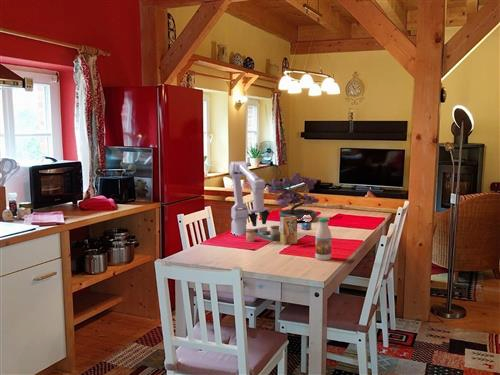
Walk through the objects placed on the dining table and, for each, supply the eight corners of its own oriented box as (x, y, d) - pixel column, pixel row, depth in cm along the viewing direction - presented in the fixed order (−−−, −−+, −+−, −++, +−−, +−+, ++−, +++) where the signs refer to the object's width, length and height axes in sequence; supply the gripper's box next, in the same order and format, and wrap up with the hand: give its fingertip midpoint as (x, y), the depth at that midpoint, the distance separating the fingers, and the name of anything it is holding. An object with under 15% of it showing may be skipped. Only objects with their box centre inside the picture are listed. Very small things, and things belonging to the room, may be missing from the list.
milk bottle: (313, 256, 241) (313, 217, 238) (329, 256, 241) (329, 216, 239) (317, 260, 233) (317, 220, 231) (333, 260, 234) (333, 219, 231)
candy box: (293, 242, 270) (293, 215, 268) (297, 244, 266) (297, 217, 264) (279, 244, 266) (279, 217, 264) (283, 246, 262) (283, 218, 260)
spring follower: (255, 234, 288) (255, 227, 287) (263, 233, 291) (263, 225, 291) (259, 235, 284) (259, 228, 284) (267, 234, 288) (267, 226, 287)
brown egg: (268, 238, 278) (268, 226, 277) (275, 237, 281) (275, 225, 280) (274, 239, 274) (274, 227, 273) (281, 238, 277) (281, 226, 276)
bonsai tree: (320, 216, 345) (321, 171, 341) (315, 224, 319) (315, 175, 315) (273, 215, 355) (272, 171, 351) (264, 222, 329) (263, 174, 325)
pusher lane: (248, 236, 288) (248, 229, 288) (264, 233, 295) (264, 227, 295) (271, 242, 270) (271, 236, 270) (287, 239, 277) (287, 233, 277)
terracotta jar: (244, 242, 274) (244, 229, 273) (251, 240, 276) (251, 228, 276) (249, 243, 270) (249, 231, 269) (256, 242, 272) (256, 229, 272)
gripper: (254, 203, 262) (255, 227, 264) (272, 200, 273) (273, 224, 274) (245, 202, 268) (246, 226, 269) (263, 199, 278) (264, 222, 279)
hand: (259, 225), depth 272 cm, fingers open, 7 cm apart
